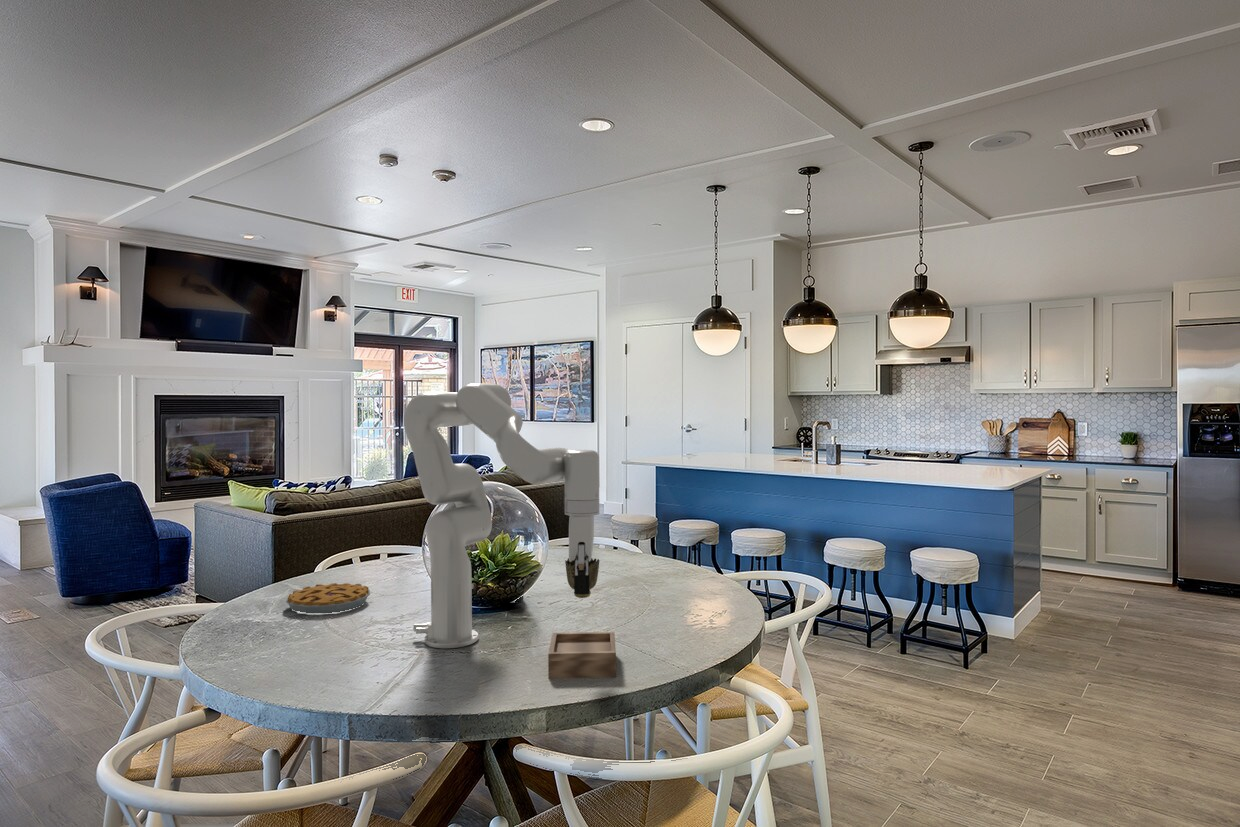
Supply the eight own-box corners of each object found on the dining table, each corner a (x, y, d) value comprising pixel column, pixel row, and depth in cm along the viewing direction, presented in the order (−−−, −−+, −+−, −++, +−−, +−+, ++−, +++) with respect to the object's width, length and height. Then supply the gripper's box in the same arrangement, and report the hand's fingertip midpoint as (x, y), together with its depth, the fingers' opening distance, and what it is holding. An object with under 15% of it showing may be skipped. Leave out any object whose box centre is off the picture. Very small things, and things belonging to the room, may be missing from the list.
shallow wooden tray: (548, 680, 152) (548, 653, 152) (552, 657, 166) (552, 632, 166) (616, 679, 153) (615, 652, 152) (614, 656, 167) (614, 631, 166)
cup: (568, 602, 155) (568, 564, 155) (562, 593, 162) (562, 557, 162) (603, 599, 157) (603, 562, 157) (595, 591, 164) (595, 555, 164)
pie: (268, 615, 200) (268, 597, 199) (319, 594, 221) (319, 578, 221) (339, 620, 194) (339, 601, 194) (385, 599, 216) (384, 582, 216)
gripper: (566, 501, 167) (567, 580, 168) (562, 513, 150) (562, 600, 150) (599, 501, 168) (599, 579, 168) (599, 513, 150) (599, 600, 151)
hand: (582, 588), depth 159 cm, fingers closed on cup, 6 cm apart
